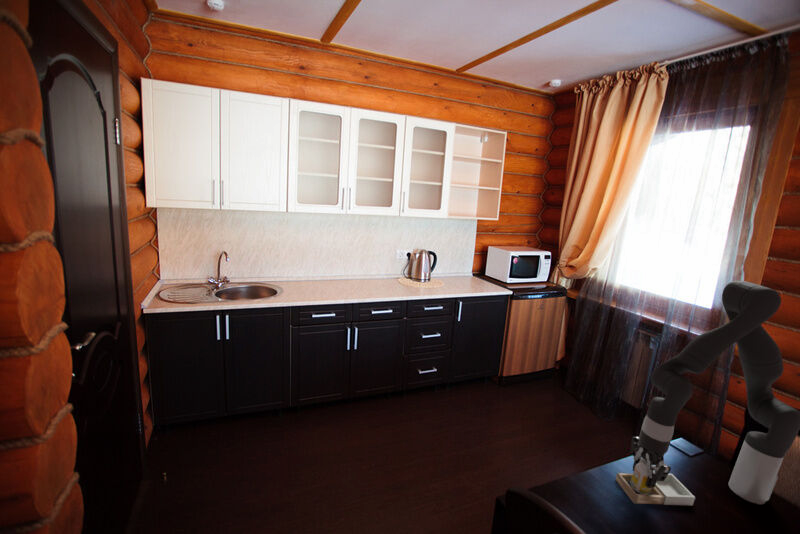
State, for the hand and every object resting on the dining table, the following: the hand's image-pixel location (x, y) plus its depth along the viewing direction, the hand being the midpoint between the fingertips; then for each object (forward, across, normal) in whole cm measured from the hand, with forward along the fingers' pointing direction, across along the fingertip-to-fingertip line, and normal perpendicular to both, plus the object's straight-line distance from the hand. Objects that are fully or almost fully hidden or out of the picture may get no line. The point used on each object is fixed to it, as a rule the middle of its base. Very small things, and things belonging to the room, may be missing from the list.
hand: (642, 478), depth 117 cm
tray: (+5, 0, -9) cm, 11 cm away
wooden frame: (+5, 0, 0) cm, 5 cm away
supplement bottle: (+4, 0, 0) cm, 4 cm away
